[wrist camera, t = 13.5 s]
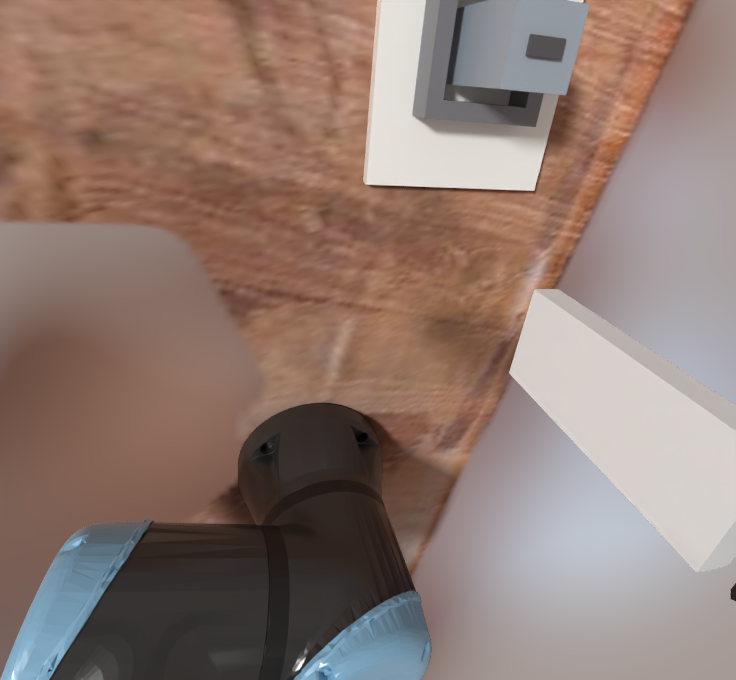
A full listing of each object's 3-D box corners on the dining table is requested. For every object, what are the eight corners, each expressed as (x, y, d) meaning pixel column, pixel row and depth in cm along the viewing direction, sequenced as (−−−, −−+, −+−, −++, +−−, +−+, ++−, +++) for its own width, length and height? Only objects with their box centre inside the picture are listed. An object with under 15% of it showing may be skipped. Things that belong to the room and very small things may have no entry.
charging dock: (527, 188, 40) (551, 197, 37) (363, 181, 36) (375, 192, 33) (586, -46, 32) (622, -57, 29) (384, -87, 28) (402, -105, 25)
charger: (500, 90, 34) (569, 95, 27) (445, 84, 33) (502, 88, 26) (514, 17, 32) (593, 3, 25) (456, 8, 31) (522, -9, 24)
